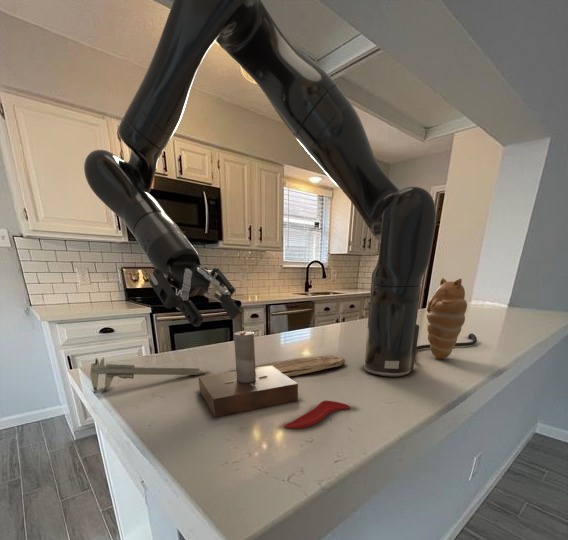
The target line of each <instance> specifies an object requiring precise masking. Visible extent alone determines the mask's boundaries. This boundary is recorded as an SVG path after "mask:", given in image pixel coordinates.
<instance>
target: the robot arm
mask: <svg viewBox="0 0 568 540" xmlns="http://www.w3.org/2000/svg"><path fill="white" fill-rule="evenodd" d="M215 43H216V44H217V45H218V46H219V47H220V48H221V49H222V50H223V51H224V52H225V53H227V54H228V55H229V57H231V58H232V59H233V60H234V61H235V62H236V63H237V64H238V65H239V66H240V67H241V68H242V69H243V71H245V72H246V73H247V74H248V75H249V77H250V78H252V80H253V81H254V82H255V83H256V84H257V85H258V87H259V88H260V90H261V91H262V92H263V94H264V95H265V97H266V98H267V100H268V101H269V103H270V104H271V106H272V107H273V109H274V110H275V112H276V113H277V115H278V116H279V118H280V119H281V120H282V122H283V123H284V124H285V125H286V127H287V128H288V129H289V131H290V132H291V134H292V135H293V136H294V137H295V139H296V140H297V141H298V142H299V144H300V145H301V146H302V147H303V148H304V150H305V151H306V152H307V154H308V155H310V157H311V158H312V159H313V160H314V162H316V164H318V166H319V167H320V168H321V169H322V170H323V172H324V173H325V174H326V175H327V176H328V177H329V179H330V180H331V181H332V182H333V183H334V185H336V186H337V187H338V188H339V190H341V191H342V192H343V193H344V194H345V196H346V197H347V198H348V199H349V201H350V202H351V204H352V205H353V206H354V208H355V209H356V211H357V212H358V214H359V215H360V217H361V219H362V220H363V222H364V223H365V225H366V226H367V228H368V229H369V231H370V233H371V235H373V236H374V238H375V239H376V241H377V242H379V251H378V258H377V262H376V265H375V266H374V268H373V270H372V272H371V278H370V290H369V303H368V304H369V305H368V318H367V327H366V328H367V329H366V341H365V342H366V343H365V354H364V364H363V369H364V371H365V372H367V373H369V374H372V375H376V376H381V377H391V378H392V377H393V378H396V377H404V376H407V375H409V374H410V373H411V372H412V371H414V369H415V362H416V355H417V351H419V350H423V349H424V350H425V349H430V345H431V344H430V343H428V344H421V345H418V340H419V334H420V325H419V324H417V320H418V314H419V313H418V312H419V305H420V298H421V289H422V285H423V284H422V282H423V278H424V275H425V273H426V271H427V270H428V267H429V263H430V259H431V252H432V248H433V243H434V242H433V241H434V236H435V230H436V223H437V209H436V208H437V207H436V203H435V200H434V198H433V196H432V194H431V193H430V192H428V191H427V190H426V189H425V188H422V187H420V186H407V187H404V188H402V189H399V187H397V186H396V184H394V182H393V181H392V179H390V177H389V176H388V175H387V174H386V173H385V171H383V169H382V167H381V166H380V164H379V163H378V161H377V158H376V157H375V154H374V152H373V149H372V147H371V144H370V141H369V138H368V136H367V133H366V130H365V128H364V124H363V122H362V120H361V119H360V116H359V114H358V112H357V111H356V109H355V107H354V106H353V105H352V103H351V102H350V100H349V99H348V98H347V96H346V95H345V94H344V92H343V91H342V89H341V88H340V87H339V85H338V84H337V82H336V81H335V80H334V79H333V78H332V77H331V76H330V75H329V73H328V72H327V71H325V70H324V69H323V68H322V67H321V66H320V65H319V64H317V62H316V61H314V60H312V59H311V58H310V57H308V56H307V55H306V54H304V53H303V52H302V51H300V50H299V49H297V48H296V47H295V46H294V45H293V44H292V43H291V42H290V41H289V39H287V37H286V36H285V34H284V33H283V31H282V30H281V29H280V28H279V26H278V25H277V23H276V21H275V20H274V18H273V17H272V16H271V14H270V12H269V10H268V9H267V7H266V6H265V4H264V2H263V1H262V0H173V2H172V5H171V7H170V10H169V12H168V16H167V19H166V21H165V24H164V26H163V29H162V33H161V35H160V38H159V41H158V43H157V45H156V48H155V51H154V54H153V56H152V58H151V61H150V63H149V66H148V68H147V70H146V72H145V74H144V77H143V79H142V81H141V83H140V85H139V86H138V89H137V90H136V93H135V94H134V96H133V98H132V99H131V102H129V103H130V104H129V105H128V108H127V109H126V111H125V112H124V116H122V118H121V121H120V122H119V125H118V129H117V130H118V131H117V133H118V136H119V138H120V139H121V141H122V142H123V144H124V145H125V146H126V147H127V148H128V149H129V150H130V156H129V159H128V161H126V160H124V159H123V158H121V157H120V156H118V155H116V154H114V153H113V152H111V151H108V150H105V149H95V150H93V151H91V152H89V154H88V155H86V157H85V159H84V163H83V164H84V165H83V171H84V177H85V180H86V182H87V184H88V186H89V188H90V190H91V191H92V192H93V193H94V195H96V197H97V198H98V199H99V200H100V201H101V202H102V203H103V204H104V205H105V206H107V208H108V209H109V210H110V211H112V212H113V213H114V214H115V215H116V216H117V217H118V218H120V219H121V220H122V221H123V223H124V224H125V225H126V227H127V229H128V230H129V231H130V233H131V234H132V236H133V237H134V238H135V240H136V241H137V243H138V246H139V247H140V249H141V251H142V252H143V253H144V254H145V257H146V258H147V259H148V261H149V262H150V264H151V265H152V267H154V269H153V271H152V273H151V276H150V278H149V280H148V282H149V284H150V286H151V287H152V288H153V291H154V292H155V294H156V296H157V297H158V299H159V300H160V302H161V303H162V305H163V306H164V307H165V308H166V309H168V310H169V309H172V308H175V309H176V310H178V311H180V312H181V314H182V315H183V316H184V318H185V319H186V320H187V322H188V323H189V324H190V325H192V326H193V327H194V328H196V327H200V326H201V324H202V323H203V321H204V316H203V315H202V313H201V312H200V311H199V309H198V308H197V307H196V305H195V304H194V302H193V301H192V300H189V297H190V298H191V297H195V296H204V297H205V298H208V299H209V300H212V299H213V300H215V301H216V302H217V303H220V306H221V307H222V308H223V310H224V311H225V313H226V314H227V315H228V317H229V318H230V320H236V319H237V318H238V316H239V315H240V314H241V310H240V307H239V306H238V305H237V303H236V302H235V301H234V299H233V298H232V296H233V295H234V293H235V292H236V288H235V287H234V286H233V285H232V283H231V282H230V281H229V280H228V278H227V277H226V275H224V274H223V272H222V271H221V270H220V269H219V268H218V267H216V266H214V267H213V268H212V269H211V270H207V269H205V268H204V267H203V265H201V260H200V255H199V253H198V251H197V250H196V249H195V247H194V246H193V245H192V243H191V242H190V241H189V239H188V238H187V237H186V235H185V234H184V233H183V231H182V230H181V228H180V227H179V226H178V224H177V223H176V222H175V221H173V219H172V218H171V217H170V216H169V215H168V213H167V212H166V210H164V208H163V206H162V205H161V204H160V203H159V201H158V200H157V199H156V198H155V197H154V196H153V195H152V194H150V193H151V190H152V187H153V183H154V178H155V175H156V172H157V168H158V163H159V160H160V157H161V155H162V154H163V152H164V150H165V149H166V147H167V146H168V144H169V142H170V140H171V139H172V137H173V136H174V134H175V132H176V131H177V129H178V126H179V125H180V122H181V120H182V117H183V115H184V112H185V108H186V105H187V102H188V98H189V95H190V92H191V89H192V87H193V82H194V79H195V77H196V74H197V72H198V70H199V68H200V66H201V64H202V62H203V60H204V58H205V56H206V54H207V53H208V51H209V50H210V48H211V47H212V46H213V44H215ZM210 285H211V286H212V288H211V289H210V290H209V288H210ZM174 289H175V290H174ZM216 292H218V293H219V294H217V293H216ZM467 338H468V339H472V341H467V342H466V341H465V342H456V344H455V345H454V347H470V346H474V345H475V344H477V342H478V339H477V336H476V335H475V334H474V333H469V334H468V336H467Z"/></svg>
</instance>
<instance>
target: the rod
mask: <svg viewBox="0 0 568 540" xmlns="http://www.w3.org/2000/svg"><path fill="white" fill-rule="evenodd" d="M233 342H234V343H233V344H234V357H235V370H236V374H237V381H238V382H241V383H250V382H253V381H255V380H256V370H255V367H256V352H255V332H254V331H252V330H251V331H250V330H241V331H236V332H233Z"/></svg>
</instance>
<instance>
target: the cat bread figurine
mask: <svg viewBox="0 0 568 540" xmlns="http://www.w3.org/2000/svg"><path fill="white" fill-rule="evenodd" d="M462 281H463V280H462V278H458V279H456V280H455V281H452V280H451V281H447V279H445V278H444V277H441V279H440V282H439V287H437V289H435V291H434V292H433V295H432V297H430V298H429V300H428V302H427V308H426V312H427V314H426V319H427V321H428V323H427V333H428V334H427V341H428V344H431V345H430V348H429V349H430V352H431V355H433V357H435V358H436V359H446V358H448V357H449V356H450V355H451V354H452V352H453V348H454V347H455V346H454V345H455V344H456V343H458V342H457V341H458V337H459V335H460V333H461V331H462V327H463V326H464V324H465V322H466V315H465V314H466V313H467V309H468V302H467V301H466V300H465V297H466V290H465V288H464V286H463V284H462V283H463V282H462Z"/></svg>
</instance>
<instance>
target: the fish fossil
mask: <svg viewBox="0 0 568 540" xmlns="http://www.w3.org/2000/svg"><path fill="white" fill-rule="evenodd" d="M345 363H346V359H345V357H341V356H336V355H331V354H330V355H321V356H319V355H318V356H309V357H302V358H295V359H294V358H292V359H286V360H281V361H275V362H270V363H266V364H260V365H258V366H257V365H255V368H258V367H265V366H273V367H274V368H276V369H277V370H279V371H280V372H282V373H283V374H285V375H286V376H287V377H289V378H290V377H295V376H299V375H303V374H310V373H314V372H318V371H322V370H328V369H331V368H338V367H342V366H343V365H344V364H345ZM234 371H236V369H235V370H234Z"/></svg>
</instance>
